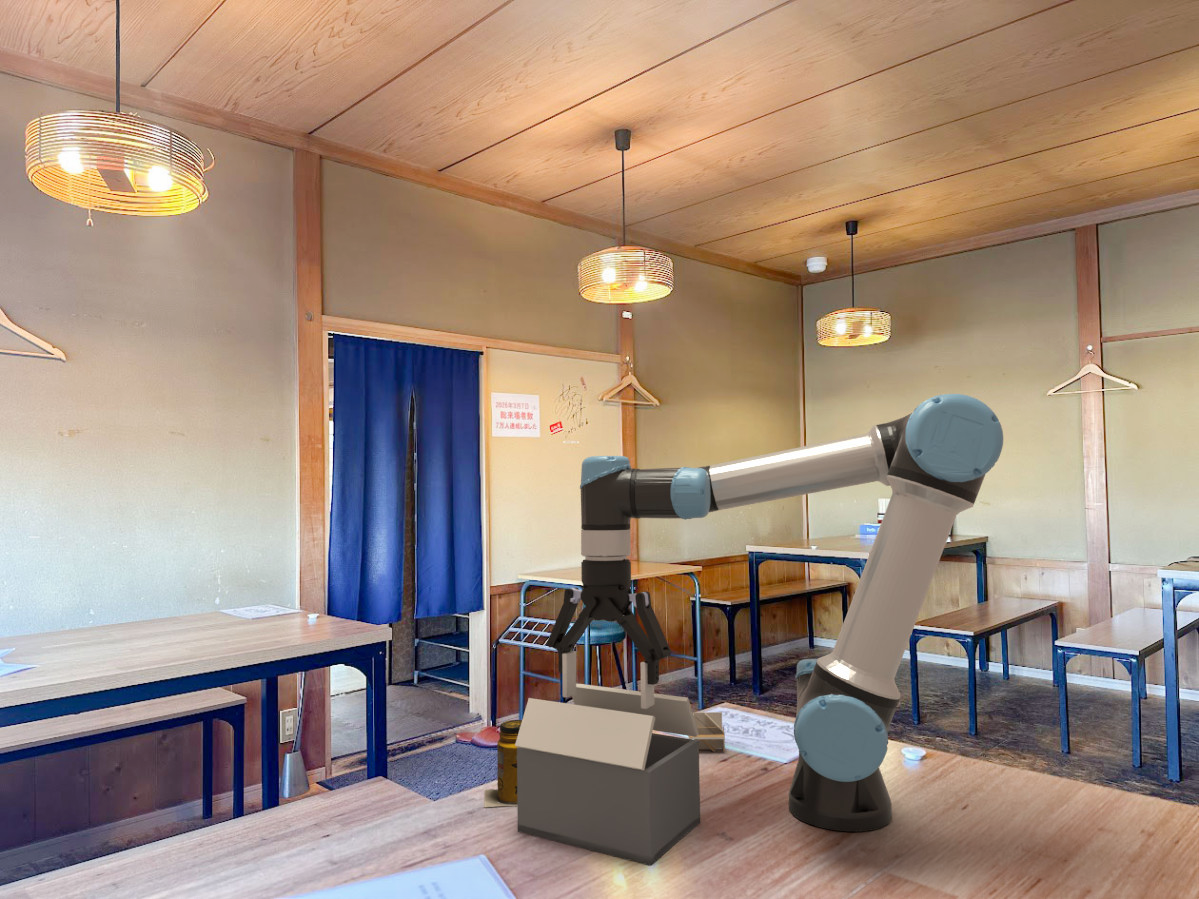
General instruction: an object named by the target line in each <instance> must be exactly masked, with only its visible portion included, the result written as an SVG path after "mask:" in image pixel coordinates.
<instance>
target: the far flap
mask: <svg viewBox="0 0 1199 899" xmlns="http://www.w3.org/2000/svg"><path fill="white" fill-rule="evenodd" d="M571 698H572V701H573V703H574V705H581V706H588V707H594V708H601V709H608V710H615V711H622V712H629V713H636V714H643V715H649V716H654V717H655V722H654V727H653V731H655V732H663V733H668V734H675V735H680V736H681V735H682V736H687V737H688V736H693V737H697V736H698V734H699V732H698V729H697V726H696V722H695V719H694V715H693V709H692V707H691V706H692V705H691V702H690V699H689V697H688V696H687V697H686V696H676V695H670V694H662V693H655V692H654V705H653V706H651V707H649V708H647V709H642V708H641V690H640V691H638V690H632V689H631V690H630V689H624V688H623V689H622V688H615V687H607V686H600V685H599V686H598V685H592V684H583V683H577V682H576V694H574V695H572V696H571Z"/></svg>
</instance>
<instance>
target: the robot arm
mask: <svg viewBox="0 0 1199 899" xmlns="http://www.w3.org/2000/svg"><path fill="white" fill-rule="evenodd" d="M999 420H1000V419H999V418H998V416H997V415H996V414H995V412H994V411H993V409H991V408H990V406H988V405H987V404H986V403H984V402H983V401H981V400H979V399H978V398H976V397H973V396H971V395H967V394H961V393H946V394H939V395H938V394H937V395H934V396H932V397H929V398H928V399H926V400H924V401H922V402H921V403H920V404H918V405H917V407H916V408H914V410H913V412H911V413H909V414H907V415H905V416H903V417H900V418H898V419H895V420H892V421H888V422H885V423H879V424H876V425H875V424H874V425H872V427H871V428H870V429H869V431H868V432H867V433H863V434H859V435H853V436H848V437H844V438H843V437H842V438H838V439H834V440H829V441H825V442H820V443H814V444H810V445H809V444H808V445H803V446H800V447H794V448H789V449H785V450H779V451H774V452H769V453H766V454H761V455H755V456H748V457H745V458H740V459H736V460H731V461H726V462H725V461H724V462H721V463H715V464H711V465H706V466H700V467H687V466H681V467H664V468H661V467H660V468H644V469H643V468H642V469H640V468H635V467H634V468H632V466H631V464H630V463H631V462H630V458H628V457H627V456H625V455H623V456H622V455H594V456H588V457H586V458H584V460H583V461H582V463H581V469H580V471H581V472H580V474H581V476H580V485H579V489H580V512H581V513H580V514H581V515H580V516H581V519H580V520H581V521H580V522H581V526H580V528H581V529H580V531H581V532H580V554H581V556H582V557H584V558H585V559H583V560H582V561H581V562H580V563H581V565H580V566H581V567H580V568H581V569H580V570H581V571H580V572H581V576H580V578H581V583H582V590H581V589H579V587H575V586H574V587H570V588H566V589H565V590H564V591H563V592H564V594H563V604H562V605H561V608H560V610H559V613H558V615H557V618H556V620H555V623H554V625H553V628H552V630H551V632H550V634H549V637H548V639H547V641H546V645H547V646H548V648H553V649H555V650H556V651H557V653H558V672H559V674H562V698H570V697H572V695H574V694H576V683H577V650H576V651H575V650H574V646H575V645H576V643H577V642H578V640H579V639H580V638H581V637H582V635H583V633H584V632H585V631H586V629H588V627H589V626H590V625H591V623H592V622H593V621H607V622H611V623H612V622H617V624H618V625H619V626H621V627H622V628H623V630H624V632H625V633H626V634H627V636H628V637H629V638H630V639H631V640H630V641H632V642H633V644H634V645H635V647H636V648H637V650H638V652H639V653H640V654H641V656H642V657H643V658H644V661H641V662H640V692H641V708H642V709H647V708H649V707H651V706H653V705H654V693H655V685H657V684H658V683H659V680H660V661H661V660H662V659H666V658H668V657H670V656H672V650H671V648H670V645H669V643H668V641H667V638H666V637H665V634H664V631H663V630H662V628H661V625H660V622H659V620H658V618H657V616H656V614H655V612H654V610H653V607H652V598H651V593H650V592H649V591H647V590H646V591H643V592H642V591H641V592H637V593H632V591H631V583H632V562H631V560H630V559H629V558H627V557H629V556H631V519H662V520H663V519H664V520H665V519H668V520H669V519H671V520H672V519H681V520H692V519H701V518H702V519H703V518H705V517H707V515H708V514H709V513H713V512H717V511H722V510H723V511H724V510H729V509H735V508H737V507H738V508H739V507H744V506H749V505H755V504H760V503H765V502H772V501H777V500H783V499H788V498H792V497H793V498H794V497H798V496H804V495H809V494H815V493H821V492H825V491H831V490H835V489H841V488H849V487H853V486H858V485H863V484H864V485H865V484H869V483H876V482H879V483H881V484H883V485H885V486H886V487H889V486H890V488H891V492H892V494H891V496H890V498H889V501H888V505H887V506H886V510H885V512H884V514H883V517H882V520H881V523H880V525H879V528H878V531H877V533H876V535H875V539H874V542H873V543H872V547H871V550H870V552H869V554H868V557H867V559H866V563H865V565H864V568H863V570H862V574H861V576H860V579H859V581H858V582H857V583H858V584H857V586H856V589H855V592H854V594H853V596H852V599H851V602H850V605H849V607H848V610H847V613H846V616H845V618H844V621H843V623H842V625H841V629H840V632H839V633H838V634H839V635H838V637H837V639H836V641H835V644H834V648H833V650H832V651H831V652H830V653H829V654H826V655H823V656H821V657H818V658H806V659H805V658H803V659H801V660H800V661H798V663H797V664H796V673H795V681H796V698H797V701H796V715H795V719H794V723H793V736H794V741H795V743H796V746H797V749H798V761H797V764H796V767H795V771H794V774H793V777H792V781H791V784H790V788H789V790H788V809H789V811H790V813H791V814H792V815H793V816H794V817H795V818H796V819H798V820H800V821H802V822H804V823H806V824H808V825H811V826H814V827H818V828H821V829H822V828H823V829H826V830H833V831H838V832H839V831H840V832H866V831H867V832H868V831H874V830H877V829H881V828H883V827H886V826H887V825H888V824H890V823H891V821H892V819H893V810H892V806H893V805H892V801H891V797H890V794H889V792H888V788H887V786H886V783H885V781H884V780H885V779H884V778H883V775H882V772H881V770H880V769H881V768H880V767H881V765H882V763H883V761H884V760H885V757H886V755H887V752H888V745H889V734H888V730H889V728H890V726H891V723H892V720H893V717H894V716H895V713H896V710H897V707H898V705H899V702H900V699H901V697H902V696H901V692H900V690H899V688H898V685H897V684H896V681H895V678H896V675H897V673H898V670H899V667H900V665H901V662H902V659H903V656H904V654H905V652H906V649H907V646H908V644H909V641H910V638H911V635H912V633H913V630H914V629H915V628H914V627H915V625H916V623H917V621H918V617H919V615H920V612H921V609H922V607H923V604H924V601H925V600H926V599H925V598H926V597H927V595H928V592H929V589H930V586H931V583H932V580H933V578H934V575H935V572H936V570H937V567H938V565H939V562H940V560H941V557H942V555H943V551H944V550H945V547H946V544H947V541H948V540H949V539H948V538H949V536H950V534H951V531H952V528H953V525H954V523H955V520H956V518H957V515H959V514H960V513H962V512H964V511H966V510H968V509H971V508H973V507H974V505H975V503H976V500H977V498H978V494H979V492H980V489H981V486H982V484H983V482H984V480H985V477H986V474H987V473H988V472H990V471H991V469H992V468H993V467H995V465H996V463H997V462H998V461H999V458H1000V457H1001V456H1000V455H1001V453H1002V450H1003V447H1004V431H1003V428H1002V427H1003V426H1002V425H1001V422H1000V421H999ZM580 602H582V604H583V605H584V608H583V609H582V610H581V611H580V613H579V614H578V617H577V619H576V620H575V622H574V623H573V625H572V626H571V627H570V624H571V622H572V619H573V618H574V615H575V613H576V610H577V608H578V604H579V603H580ZM631 604H633V607H635V608H636V611H637V613H638V616H639V619H640V621H641V624H642V625H643V628H644V629H643V628H642V627H641V625H640V624H639V622H638V621H637V619H636V615H635V614H634V613H633V611H632V609H631V608H630V606H631ZM569 627H570V629H569Z"/></svg>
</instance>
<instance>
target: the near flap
mask: <svg viewBox="0 0 1199 899" xmlns="http://www.w3.org/2000/svg"><path fill="white" fill-rule="evenodd" d="M521 720H522V723H521V726H520V730H519V733H518V736H517V740H516V743H515V746H517V747H520V748H526V749H531V750H536V751H542V752H547V753H552V754H558V755H563V756H568V757H574V758H579V759H584V760H590V761H595V762H601V763H606V764H611V765H617V766H622V767H627V768H633V769H638V770H643V771H644V769H645V764H646V760H647V755H648V750H649V746H650V741H651V736H652V733H653V731H654V730H653V727H654V722H655V717H654V716H649V715H643V714H636V713H629V712H622V711H615V710H608V709H601V708H594V707H588V706H581V705H575V703H574V704H572V703H566V702H559V701H553V700H544V699H539V698H538V699H537V698H531V697H528V700H527V703H526V705H525V710H524V713H523V717H522V719H521Z"/></svg>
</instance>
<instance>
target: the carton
mask: <svg viewBox="0 0 1199 899" xmlns="http://www.w3.org/2000/svg"><path fill="white" fill-rule="evenodd" d="M700 782H701V780H700V749H699V740H694V739H689V738H685V737H684V738H683V737H680V736H678V737H677V736H673V735H672V736H671V735H666V734H659V733H653V732H652V736H651V741H650V746H649V750H648V755H647V760H646V764H645V769H644V771H643V770H638V769H633V768H627V767H622V766H617V765H611V764H606V763H601V762H595V761H590V760H584V759H579V758H574V757H568V756H563V755H558V754H552V753H547V752H542V751H536V750H531V749H526V748H520V747H517V806H516V807H517V808H516V809H517V832H519V833H523V834H527V835H530V836H534V835H535V836H534V837H538V838H542V839H545V840H546V839H547V840H550V841H553V842H557V843H562V844H565V845H570V846H574V847H576V848H581V849H584V850H588V851H593V852H596V853H601V854H604V855H608V856H611V857H612V856H613V857H616V858H618V859H619V858H621V859H624V860H627V861H628V860H629V861H631V862H635V863H639V864H642V865H643V864H644V865H647V866H652V865H653V864H654V863H656V862H657V861H658V860H660V859H661V858H662V857H663V856H664V855H665V854H666V853H668V852H669V850H670V849H672V848H673V847H674V846H676V844H677V843H678V842H680V841H681V840H682V839H683V838H685V837H686V836H687V835H688V834H689V833H690V832H691V831H693V829H695V828H696V827H698V826H699V824H700V823H701V795H700V793H701V791H700V790H701V786H700V785H701V784H700Z"/></svg>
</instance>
